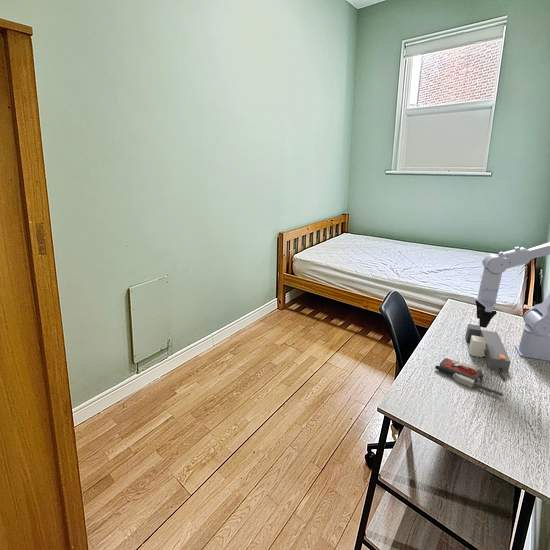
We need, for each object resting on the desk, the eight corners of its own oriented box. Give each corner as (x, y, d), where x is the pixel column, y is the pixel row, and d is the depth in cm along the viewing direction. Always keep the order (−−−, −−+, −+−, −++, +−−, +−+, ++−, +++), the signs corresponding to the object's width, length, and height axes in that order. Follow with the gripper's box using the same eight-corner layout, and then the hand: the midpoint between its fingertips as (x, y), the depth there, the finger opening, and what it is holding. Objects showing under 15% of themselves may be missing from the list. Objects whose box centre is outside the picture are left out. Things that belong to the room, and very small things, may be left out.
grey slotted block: (495, 341, 138) (498, 327, 136) (512, 382, 113) (516, 365, 111) (465, 336, 141) (467, 323, 139) (475, 375, 116) (478, 358, 114)
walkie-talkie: (431, 373, 117) (501, 401, 104) (433, 361, 116) (504, 388, 103) (441, 363, 123) (507, 387, 111) (443, 351, 122) (510, 375, 109)
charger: (489, 352, 129) (492, 338, 127) (491, 358, 125) (494, 344, 123) (468, 349, 131) (471, 335, 130) (470, 355, 128) (473, 340, 126)
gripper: (474, 280, 134) (467, 313, 138) (479, 293, 121) (471, 328, 126) (495, 282, 132) (487, 316, 136) (502, 296, 119) (494, 332, 123)
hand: (481, 322), depth 131 cm, fingers open, 7 cm apart
